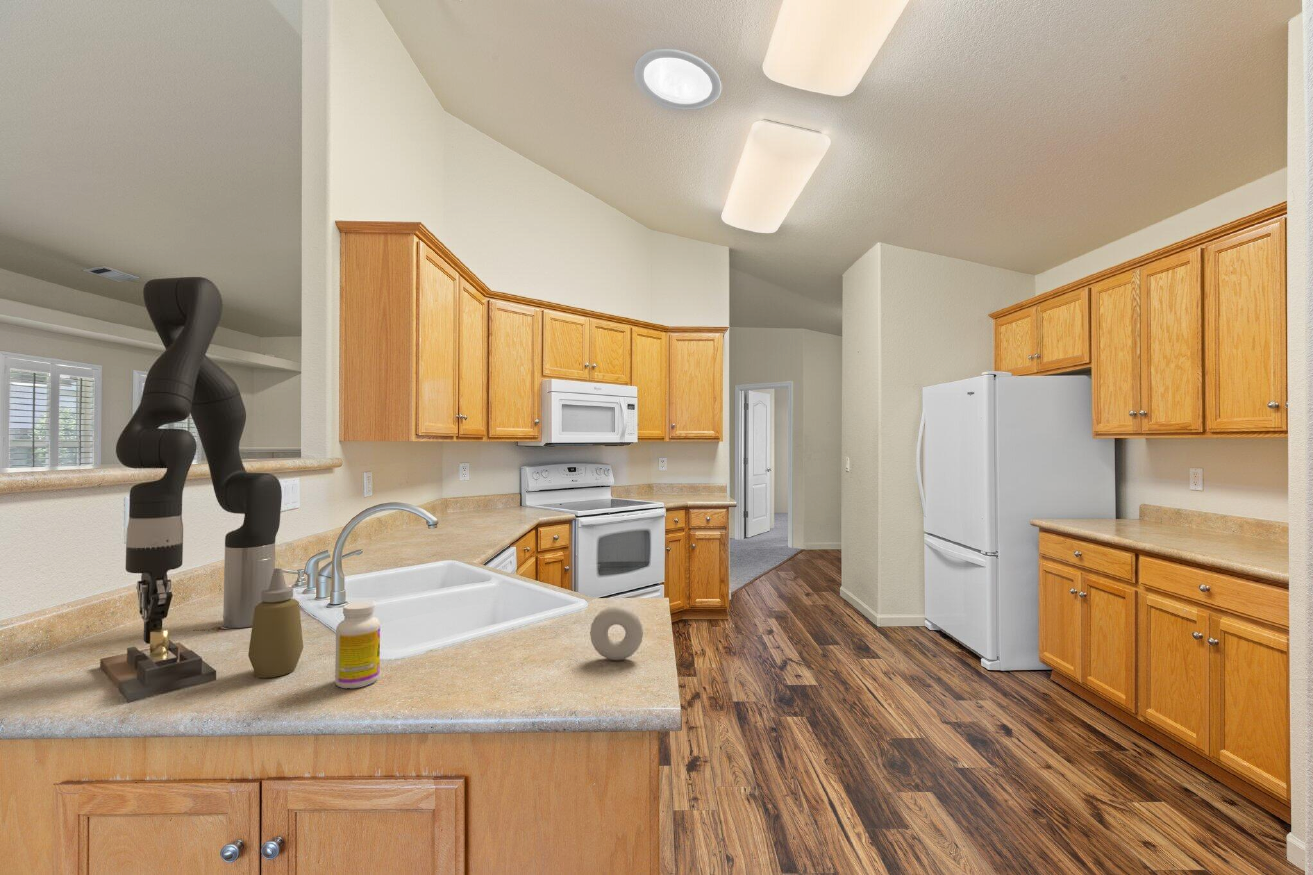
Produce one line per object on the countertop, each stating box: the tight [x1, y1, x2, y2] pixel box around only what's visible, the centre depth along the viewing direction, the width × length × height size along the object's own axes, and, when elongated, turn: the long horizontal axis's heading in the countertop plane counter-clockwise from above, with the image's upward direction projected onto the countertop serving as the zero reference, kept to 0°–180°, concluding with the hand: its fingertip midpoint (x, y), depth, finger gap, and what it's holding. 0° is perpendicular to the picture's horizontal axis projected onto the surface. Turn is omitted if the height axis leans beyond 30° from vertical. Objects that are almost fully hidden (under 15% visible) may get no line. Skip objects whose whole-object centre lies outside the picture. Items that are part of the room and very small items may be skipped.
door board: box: [99, 639, 217, 703], centre depth 99 cm, size 11×22×4 cm, turn 52°
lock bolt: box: [142, 628, 177, 667], centre depth 98 cm, size 3×8×6 cm, turn 52°
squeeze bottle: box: [247, 567, 304, 679], centre depth 100 cm, size 8×8×18 cm
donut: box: [589, 605, 644, 661], centre depth 108 cm, size 10×4×10 cm, turn 90°
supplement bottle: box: [334, 601, 381, 689], centre depth 97 cm, size 7×7×13 cm
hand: (152, 641), depth 100 cm, fingers closed
